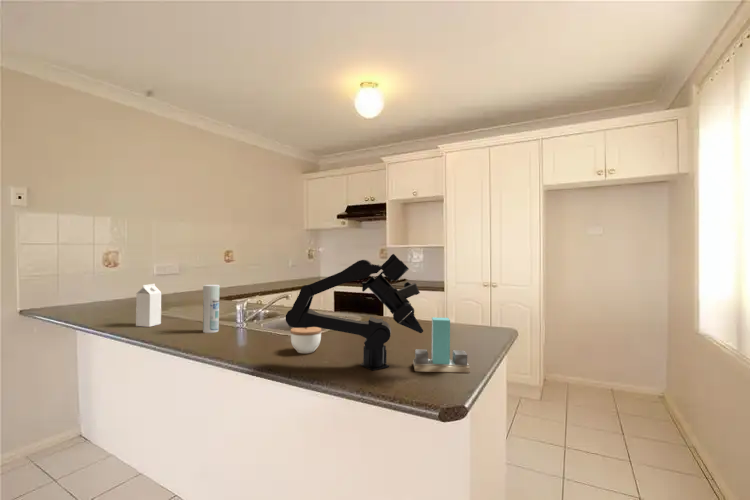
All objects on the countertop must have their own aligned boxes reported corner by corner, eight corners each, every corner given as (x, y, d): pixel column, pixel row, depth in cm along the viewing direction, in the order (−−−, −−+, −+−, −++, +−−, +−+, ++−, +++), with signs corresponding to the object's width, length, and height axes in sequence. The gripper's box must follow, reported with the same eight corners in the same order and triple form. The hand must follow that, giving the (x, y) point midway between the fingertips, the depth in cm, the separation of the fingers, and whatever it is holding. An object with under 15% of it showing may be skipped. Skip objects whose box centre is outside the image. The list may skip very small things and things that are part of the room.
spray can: (208, 329, 163) (209, 284, 164) (222, 330, 162) (222, 284, 162) (199, 332, 157) (199, 285, 157) (212, 333, 156) (213, 285, 156)
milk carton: (135, 326, 168) (136, 284, 169) (147, 323, 175) (148, 283, 176) (149, 327, 167) (150, 285, 167) (161, 324, 174) (161, 283, 174)
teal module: (432, 363, 110) (433, 320, 110) (431, 359, 114) (431, 317, 114) (449, 364, 109) (450, 320, 110) (447, 360, 114) (448, 317, 114)
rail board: (414, 371, 109) (414, 354, 109) (413, 364, 116) (413, 348, 116) (469, 372, 108) (469, 355, 108) (464, 365, 115) (465, 349, 115)
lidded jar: (327, 350, 131) (327, 323, 131) (305, 357, 122) (305, 328, 122) (306, 345, 137) (306, 320, 137) (283, 351, 128) (284, 324, 129)
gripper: (406, 275, 104) (445, 315, 103) (402, 272, 122) (435, 306, 122) (377, 302, 104) (416, 343, 103) (378, 295, 122) (410, 330, 122)
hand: (420, 329), depth 112 cm, fingers open, 9 cm apart
